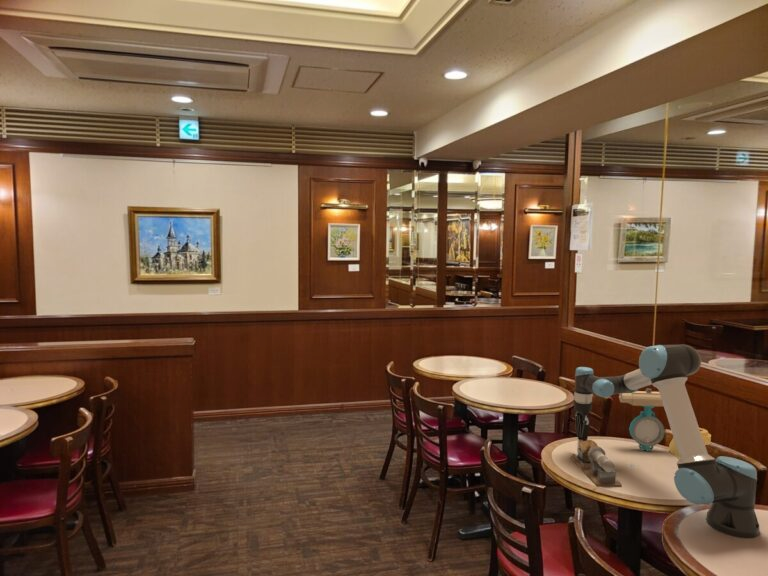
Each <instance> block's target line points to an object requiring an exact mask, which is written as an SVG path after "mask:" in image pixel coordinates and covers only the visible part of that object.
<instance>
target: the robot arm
mask: <svg viewBox="0 0 768 576" xmlns="http://www.w3.org/2000/svg"><path fill="white" fill-rule="evenodd" d="M638 358H639V359H638V367H639V368H637V369H635V370H633V371H630V372H627V373H625V374H623V375H617V376H600V377H599V376H596V375H594V369H593V368H591V367H587V366H579V367H576V368H575V374H574V391H573V392H574V393H573V394H574V396H573V400H574V402H573V409H574V410H575V411H576V412H574V413H573V414H574V420H575V421H574V422H575V434H576V437H577V448H576V449H577V450H576V451H577V453H578V448H581V446H580V441H581V440H582V439H587V440H588V438H589V431H590V425H591V420H589V413H590V412H591V411H592V408H593V403H592V402H593V397H594V395H596V396H597V397H600V398H604V399H605V398H607V399H608V398H610V397H611V396H612V395H619V394H621V393H633V392H636V391H639V389H642V388H644V387H648V386H651V385H652V386H653V387H654V388H657V389H658V392H659V393H660V396H661V399H662V402H663V405H664V406H663V408H664V411H665V414H666V417H667V420H668V425H669V427H670V430H671V433H672V438H673V437H674V440H675V443H676V446H677V450H678V453H679V456H680V459H678V461H677V462H676V465H677V468H678V469H677V470H676V471H675V473H674V475H675V476H673V481H674V486H675V488H676V489H677V492H678V493H679V495H680V496H681V497H682V498H684V499H685V500H686V501H687V502H689V503H691V504H693V505H710V507H709V509H708V511H706V512H707V513H706V519H705V520H707V521H706V523H707V522H708V523H707V524H708V525H709V526H710V527H712V528H713V529H715V530H716V531H718V532H721V533H723V534H726V535H728V536H732V537H736V538H742V539H752V538H757V537H759V535H760V523H759V521H758V516H757V514H756V511H755V505H756V491H757V481H758V477H757V476H758V474H757V473H758V470H757V468H756V467H755V466H754V465H752V464H751V463H750V462H749V463H748V462H747V461H744V460H741V459H737V458H734V457H730V456H721V455H720V456H717V457H716V458H715V457H714V456H712V455H710V454H709V453H708V450H707V447H706V445H705V444H704V441H703V438H702V435H701V432H700V429H699V428H700V427H699V424H698V420H697V417H696V415H695V414H696V413H695V412H694V409H693V406H692V402H691V399H690V396H689V394H688V390H687V388H686V385H685V384H686V382H687V381H688V376H692V375H694V374H695V373H697V372H698V371H699V370H700V368H701V366H702V358H701V355H700V353H699V351H697V349H696V348H694V347H692V346H691V345H688V344H681V343H680V344H679V343H678V344H677V343H676V344H656V345H651V346H647V347H645V348H644V349H643V350H642V351H641V353H640V355H639V357H638Z"/></svg>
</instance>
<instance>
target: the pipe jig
mask: <svg viewBox="0 0 768 576" xmlns="http://www.w3.org/2000/svg"><path fill="white" fill-rule="evenodd" d="M588 458H589V460H590V461H591V462H582V461H581V460H580V459H579V458H578V455H576V454H575V453H572V456H570V459H571V460H572V461H573V463H575V465H577V467H578V468H579V469H580V470H581V471H582V473H584V475H585V476H587V478H588V479H589V480H590V481H591V482H592V483H593V484H594V485H595V486H596V487H598V488H599V487H604V488H605V487H608V488H609V487H611V488H613V487H614V488H622V487H623V485H622V483H621V482H620V481H619V480H618V479H617V478H616V477H617V475H616V474H617V471H616V470H615V467H616V465H615V464H614V462H613V461H612V460H611V459H609V458H608V457H607V455H606V451H605V450H604V449H603V448H602V447H600V446H598V445H597V446H595V447H592V448H591V449H590V450H589V452H588Z"/></svg>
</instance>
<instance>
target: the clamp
mask: <svg viewBox="0 0 768 576" xmlns="http://www.w3.org/2000/svg"><path fill="white" fill-rule="evenodd" d="M699 429H700V432H701V435H702V438H703V441H704V444H705V446H708V445H711V442H712V441H711V440H712V434H711V433H710V432H709V430H707V429H706V428H703V427H702V428H701V427H699ZM669 451H670V452H669ZM668 452H669V453H671V454H672V455H673V454H674V455H675V456H674V457H675V458H677V459H678V460H679V459H680V456H679V453H678V450H677V446H676V443H675V440H674V437H673V436H672V439H671V441H670V443H669V445H668Z"/></svg>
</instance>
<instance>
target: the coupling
mask: <svg viewBox="0 0 768 576" xmlns="http://www.w3.org/2000/svg"><path fill="white" fill-rule="evenodd" d="M580 446H581V448H578V452H577V456H578V458H579V459H580V460H581V461H582V462H591V461H590V460H589V458H588V452H589V450H590V449H591V448H592V447H595V446H598V443H597V442H596V441H594V440H592V439H588V438H587V439H582V440H581V441H580Z"/></svg>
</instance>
